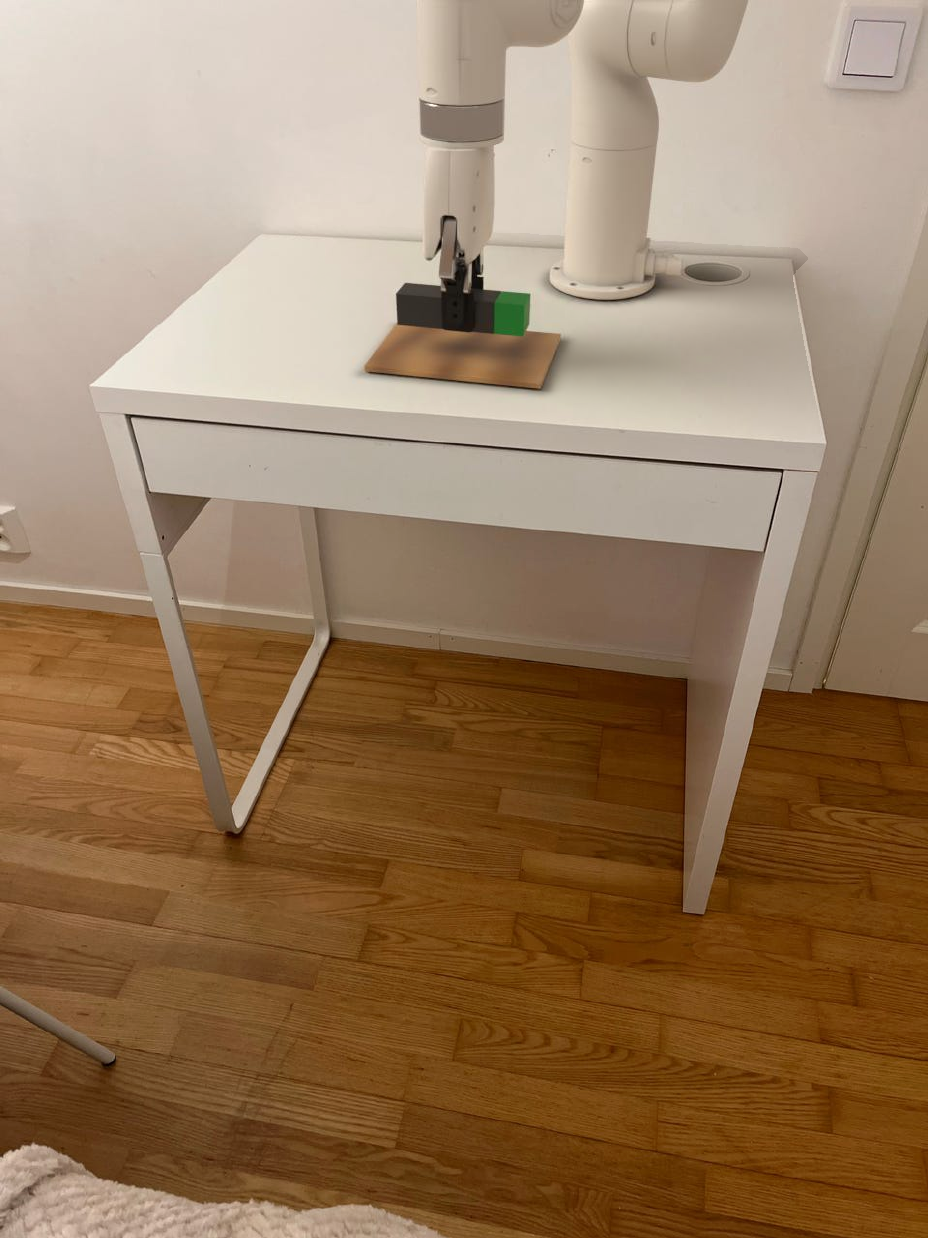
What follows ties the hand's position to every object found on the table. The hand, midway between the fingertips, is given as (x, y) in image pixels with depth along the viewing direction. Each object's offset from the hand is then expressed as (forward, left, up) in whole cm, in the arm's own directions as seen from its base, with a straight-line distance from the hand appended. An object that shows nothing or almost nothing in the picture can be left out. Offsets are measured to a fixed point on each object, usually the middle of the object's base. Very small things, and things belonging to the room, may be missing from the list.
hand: (462, 320), depth 95 cm
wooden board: (0, 0, -4) cm, 4 cm away
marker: (0, 0, 0) cm, 0 cm away
